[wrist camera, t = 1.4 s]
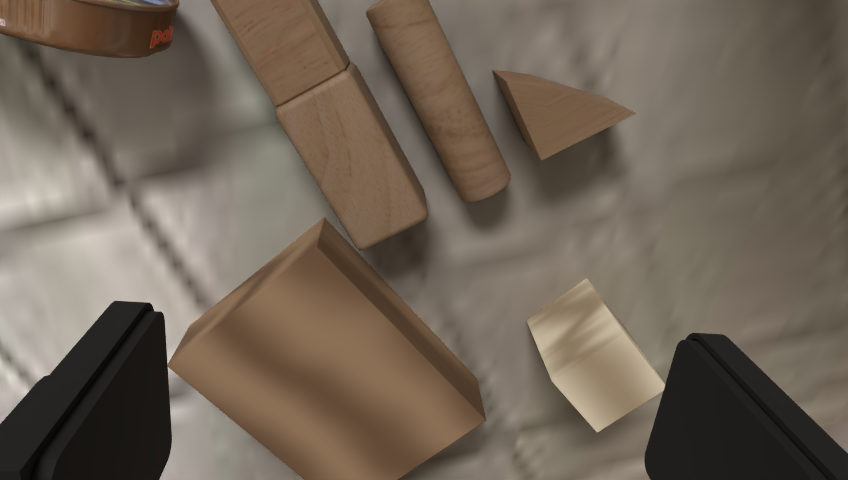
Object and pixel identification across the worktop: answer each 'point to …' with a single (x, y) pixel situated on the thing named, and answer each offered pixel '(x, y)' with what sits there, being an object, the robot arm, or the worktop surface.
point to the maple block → (593, 357)
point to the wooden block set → (367, 127)
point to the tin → (92, 25)
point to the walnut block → (330, 366)
